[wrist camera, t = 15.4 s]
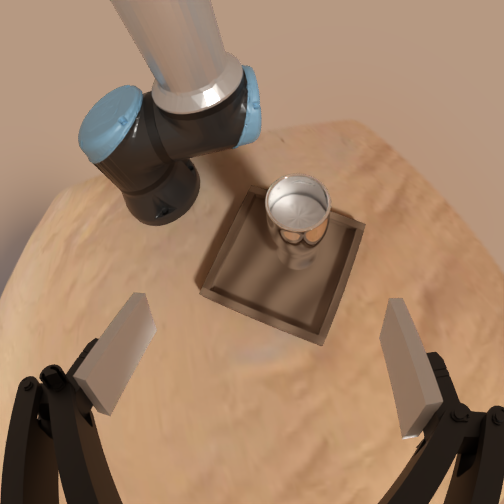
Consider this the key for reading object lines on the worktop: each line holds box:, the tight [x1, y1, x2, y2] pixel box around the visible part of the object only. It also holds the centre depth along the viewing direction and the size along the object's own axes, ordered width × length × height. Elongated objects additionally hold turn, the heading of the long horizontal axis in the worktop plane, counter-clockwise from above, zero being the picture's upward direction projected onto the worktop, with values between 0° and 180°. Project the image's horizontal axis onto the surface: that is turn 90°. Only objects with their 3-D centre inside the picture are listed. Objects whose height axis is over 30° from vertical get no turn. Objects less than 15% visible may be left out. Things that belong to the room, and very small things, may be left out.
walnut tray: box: [199, 185, 366, 346], centre depth 45 cm, size 20×20×2 cm
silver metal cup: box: [265, 173, 331, 270], centre depth 35 cm, size 7×7×15 cm
